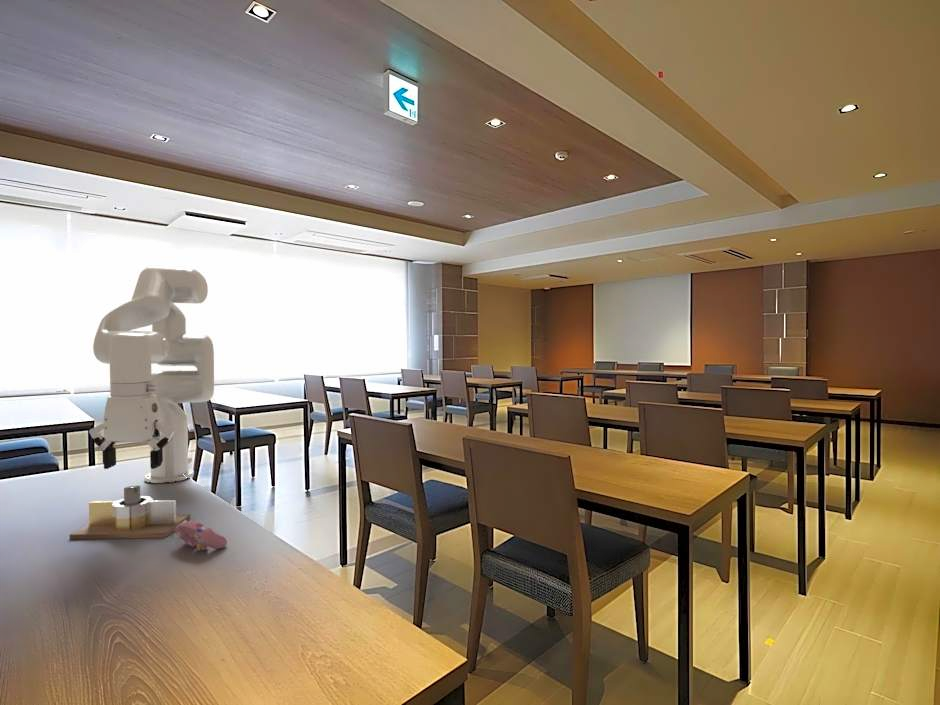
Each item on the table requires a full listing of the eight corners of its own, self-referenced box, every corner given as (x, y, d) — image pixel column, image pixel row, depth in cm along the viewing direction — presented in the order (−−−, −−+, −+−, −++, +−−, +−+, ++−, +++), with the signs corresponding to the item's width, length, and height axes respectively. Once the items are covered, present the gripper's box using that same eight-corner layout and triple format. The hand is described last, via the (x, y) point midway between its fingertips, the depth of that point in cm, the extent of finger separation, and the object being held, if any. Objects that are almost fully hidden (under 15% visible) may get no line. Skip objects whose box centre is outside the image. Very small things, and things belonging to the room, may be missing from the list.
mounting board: (104, 519, 116) (104, 515, 116) (190, 518, 117) (190, 514, 117) (69, 539, 105) (69, 534, 105) (165, 537, 106) (165, 532, 106)
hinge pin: (129, 521, 112) (129, 485, 112) (143, 521, 112) (143, 485, 112) (121, 526, 109) (120, 489, 109) (135, 525, 110) (135, 488, 109)
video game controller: (180, 551, 103) (165, 526, 100) (199, 534, 107) (184, 510, 104) (212, 561, 99) (197, 536, 96) (230, 543, 102) (216, 518, 99)
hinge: (101, 518, 114) (101, 496, 114) (183, 517, 115) (182, 495, 115) (79, 531, 107) (78, 507, 107) (166, 529, 108) (166, 506, 108)
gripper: (181, 388, 114) (182, 462, 116) (101, 387, 113) (103, 462, 114) (163, 392, 107) (165, 472, 108) (77, 392, 106) (79, 472, 107)
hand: (133, 467), depth 111 cm, fingers open, 9 cm apart
